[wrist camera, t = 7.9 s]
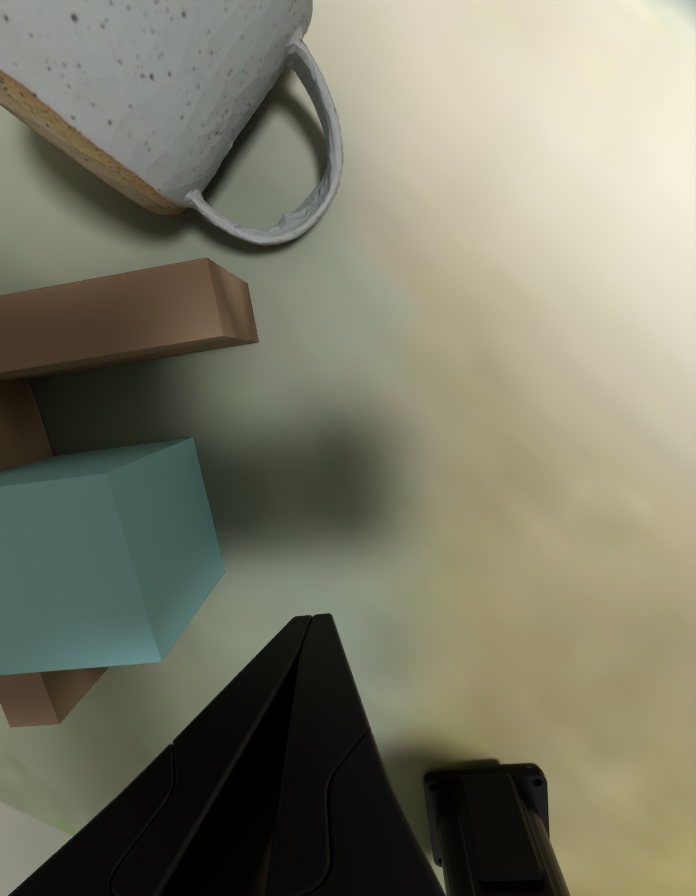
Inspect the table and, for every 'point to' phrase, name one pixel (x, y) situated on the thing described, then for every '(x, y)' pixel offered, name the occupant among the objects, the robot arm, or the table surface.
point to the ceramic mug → (161, 92)
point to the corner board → (89, 347)
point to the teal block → (103, 556)
